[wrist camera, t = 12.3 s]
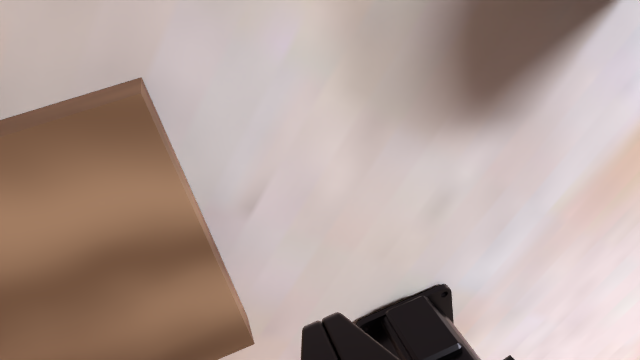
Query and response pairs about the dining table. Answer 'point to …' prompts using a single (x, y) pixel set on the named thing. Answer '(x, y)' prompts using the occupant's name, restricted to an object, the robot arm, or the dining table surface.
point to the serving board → (107, 239)
